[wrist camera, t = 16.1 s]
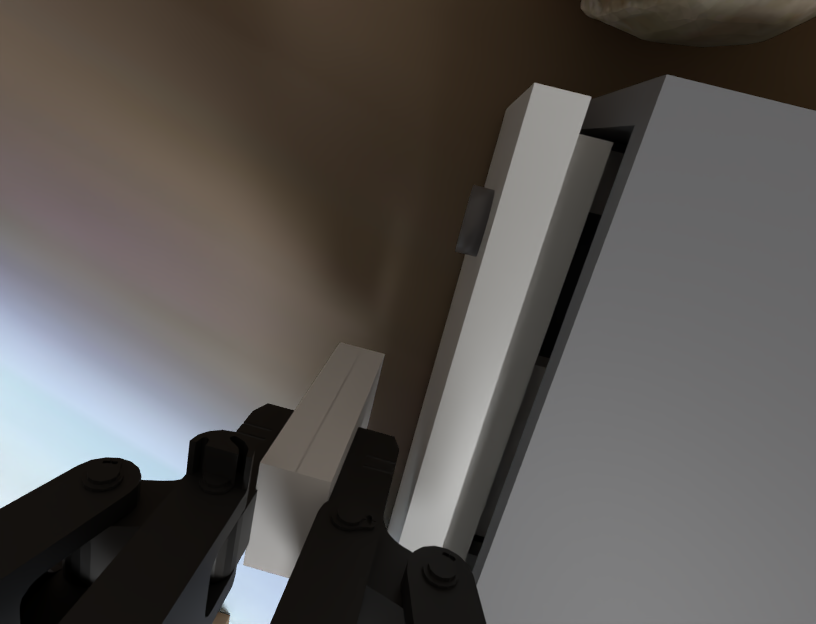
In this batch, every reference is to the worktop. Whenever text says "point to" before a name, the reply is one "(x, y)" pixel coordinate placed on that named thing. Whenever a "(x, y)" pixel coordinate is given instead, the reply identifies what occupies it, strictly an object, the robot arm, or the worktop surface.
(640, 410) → the housing
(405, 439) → the worktop surface
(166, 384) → the worktop surface
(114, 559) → the robot arm
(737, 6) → the garlic bulb
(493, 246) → the grey drawer
